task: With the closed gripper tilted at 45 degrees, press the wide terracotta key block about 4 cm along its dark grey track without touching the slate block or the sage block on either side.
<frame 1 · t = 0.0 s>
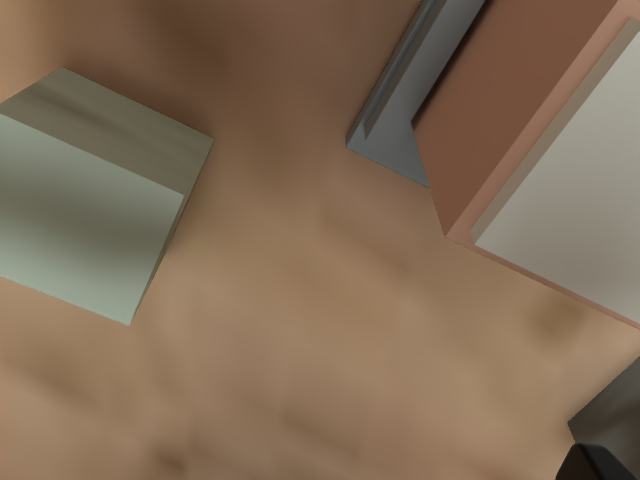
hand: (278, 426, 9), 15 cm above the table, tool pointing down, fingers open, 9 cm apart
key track: (568, 100, 20), on the table
sage block: (119, 167, 23), on the table
terracotta key block: (634, 160, 16), point 5 cm above the table, slide at 0.0 cm
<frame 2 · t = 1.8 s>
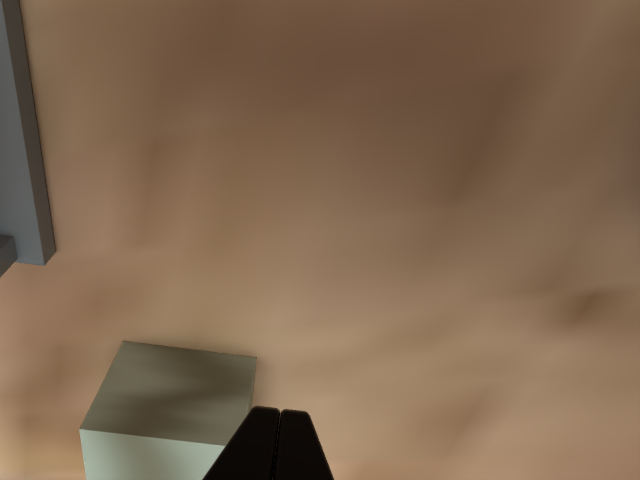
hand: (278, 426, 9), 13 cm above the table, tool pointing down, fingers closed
sage block: (190, 394, 27), on the table
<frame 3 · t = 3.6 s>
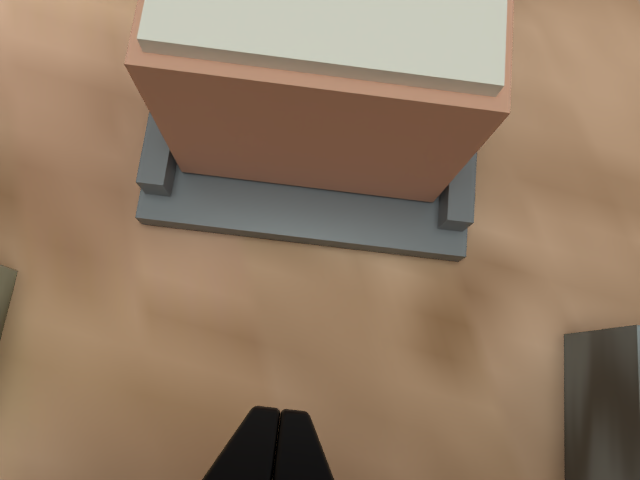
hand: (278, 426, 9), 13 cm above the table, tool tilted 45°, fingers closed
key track: (315, 130, 24), on the table
terracotta key block: (322, 61, 19), point 5 cm above the table, slide at 0.0 cm
slate block: (637, 418, 22), on the table
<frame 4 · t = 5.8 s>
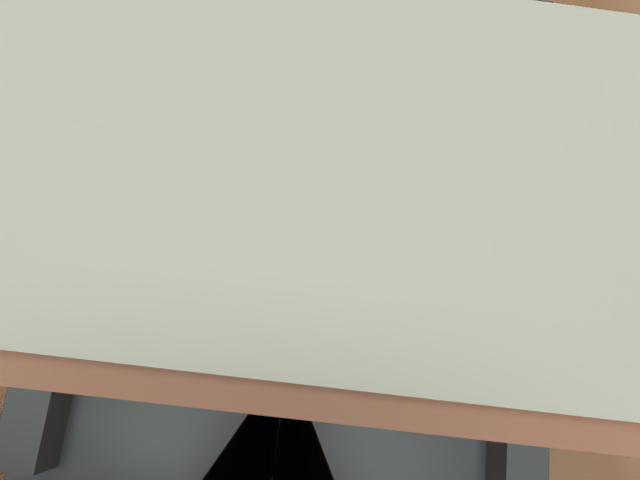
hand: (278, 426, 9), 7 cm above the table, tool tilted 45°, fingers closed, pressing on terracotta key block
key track: (292, 331, 16), on the table
terracotta key block: (303, 243, 11), point 5 cm above the table, slide at 1.2 cm, touching gripper
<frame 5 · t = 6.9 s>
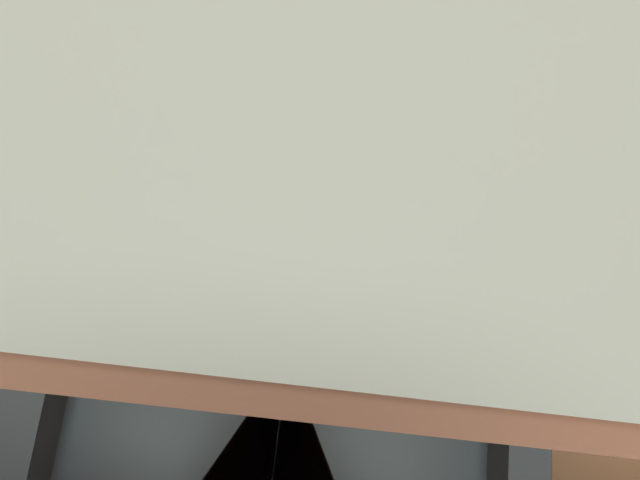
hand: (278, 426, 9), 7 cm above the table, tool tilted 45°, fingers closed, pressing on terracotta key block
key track: (277, 439, 15), on the table
terracotta key block: (301, 239, 11), point 6 cm above the table, slide at 4.2 cm, touching gripper
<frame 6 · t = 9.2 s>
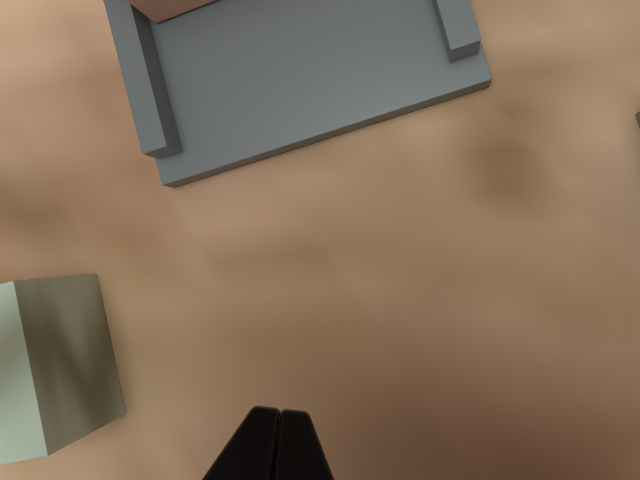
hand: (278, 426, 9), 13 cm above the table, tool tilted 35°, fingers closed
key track: (289, 20, 22), on the table
sage block: (52, 356, 24), on the table
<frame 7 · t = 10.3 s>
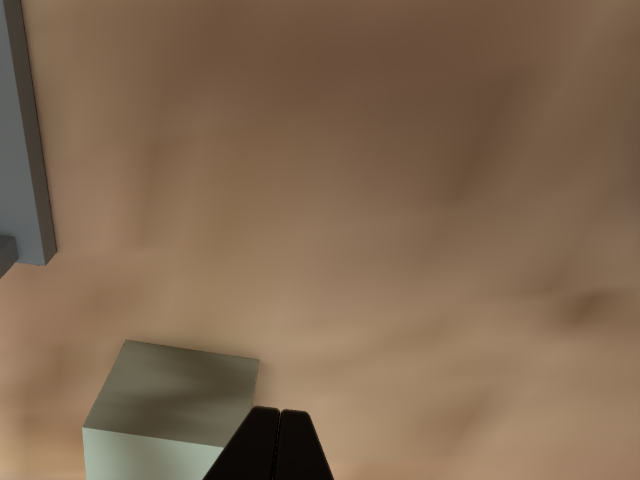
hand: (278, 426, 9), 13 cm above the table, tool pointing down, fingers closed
sage block: (190, 394, 27), on the table
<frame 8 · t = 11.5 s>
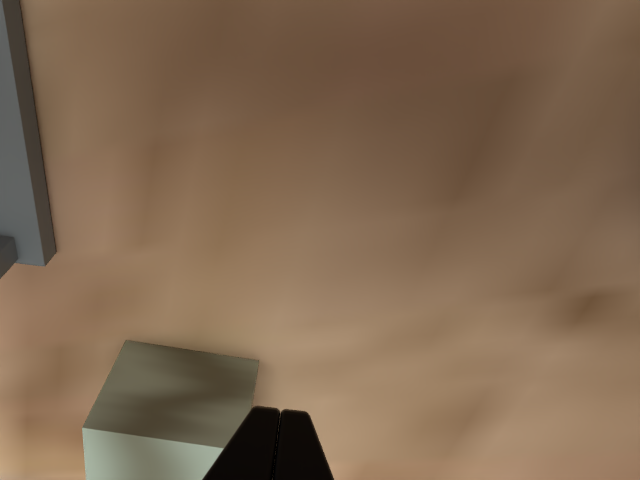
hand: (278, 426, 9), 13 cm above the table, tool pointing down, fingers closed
sage block: (190, 395, 27), on the table
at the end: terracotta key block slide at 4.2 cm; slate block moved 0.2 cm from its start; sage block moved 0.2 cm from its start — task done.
